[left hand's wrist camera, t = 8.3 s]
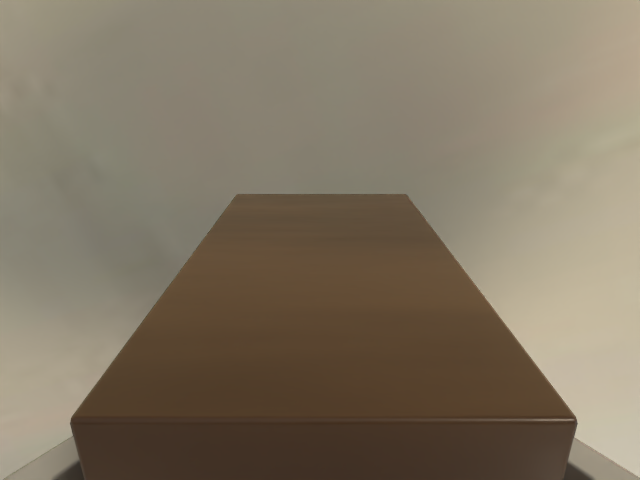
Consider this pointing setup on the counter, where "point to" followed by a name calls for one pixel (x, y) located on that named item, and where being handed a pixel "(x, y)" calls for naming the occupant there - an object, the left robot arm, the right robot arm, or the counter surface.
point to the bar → (323, 360)
